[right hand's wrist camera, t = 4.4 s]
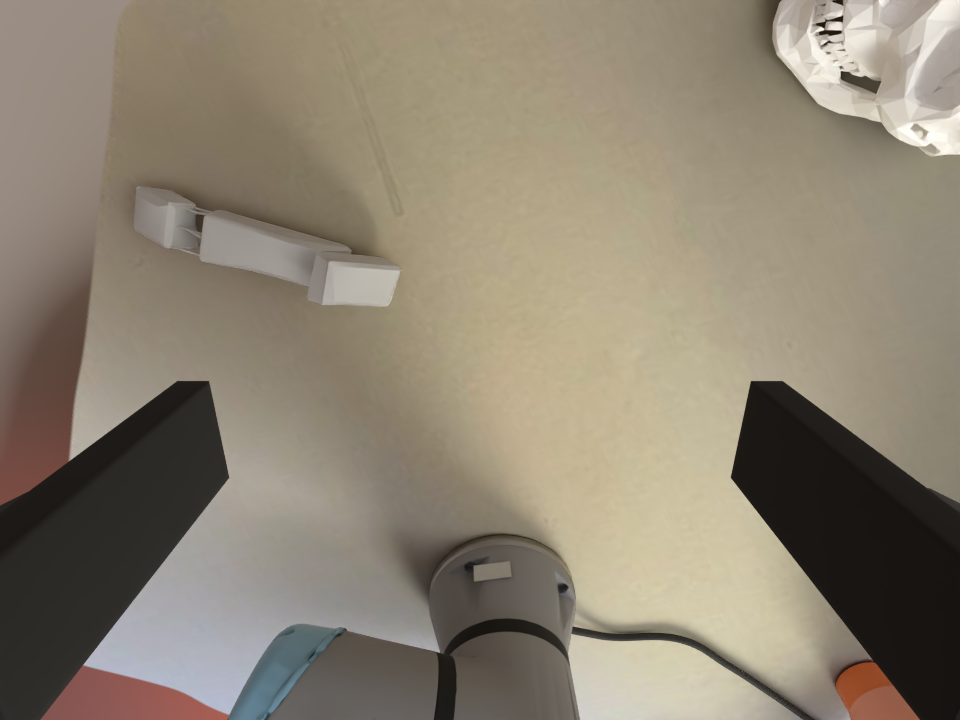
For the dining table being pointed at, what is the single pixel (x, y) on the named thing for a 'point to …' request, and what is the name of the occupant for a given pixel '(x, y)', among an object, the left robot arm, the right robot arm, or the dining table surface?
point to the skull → (880, 63)
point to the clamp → (266, 250)
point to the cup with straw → (871, 695)
